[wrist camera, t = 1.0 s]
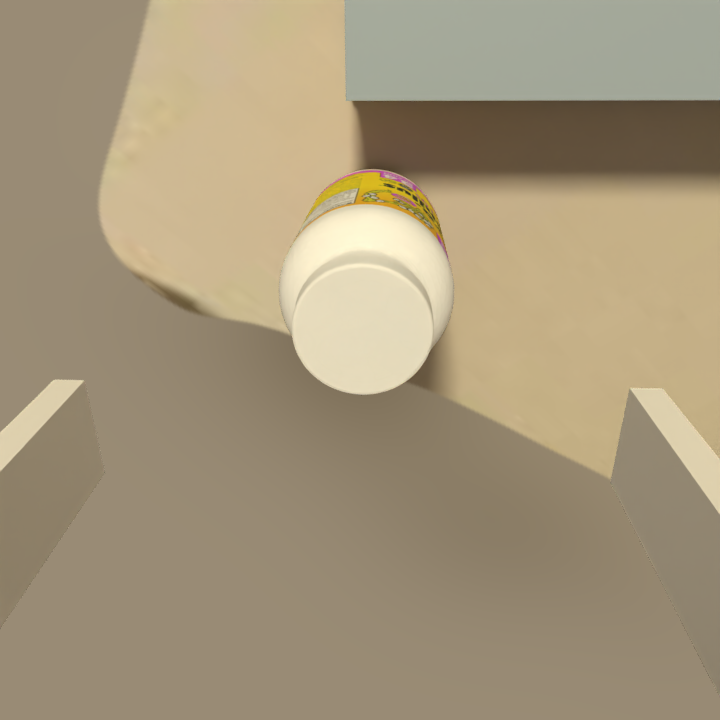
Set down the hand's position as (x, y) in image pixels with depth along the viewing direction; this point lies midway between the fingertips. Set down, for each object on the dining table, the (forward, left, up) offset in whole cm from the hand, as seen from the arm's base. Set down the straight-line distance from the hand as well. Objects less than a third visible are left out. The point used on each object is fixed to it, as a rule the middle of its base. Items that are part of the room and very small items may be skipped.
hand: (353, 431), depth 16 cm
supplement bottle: (0, 0, -19) cm, 19 cm away
